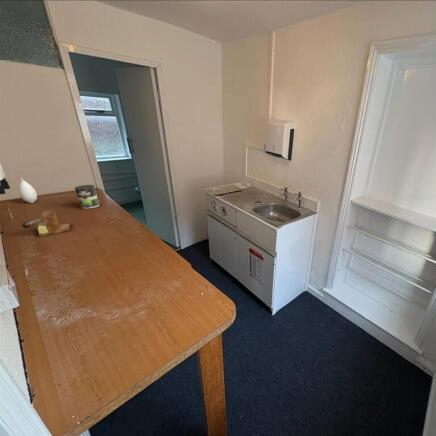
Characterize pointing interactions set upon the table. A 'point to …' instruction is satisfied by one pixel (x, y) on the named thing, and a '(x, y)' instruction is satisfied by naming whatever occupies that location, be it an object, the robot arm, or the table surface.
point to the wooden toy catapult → (53, 224)
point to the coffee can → (87, 196)
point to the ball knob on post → (28, 224)
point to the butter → (42, 229)
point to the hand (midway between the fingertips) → (3, 191)
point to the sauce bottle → (27, 192)
